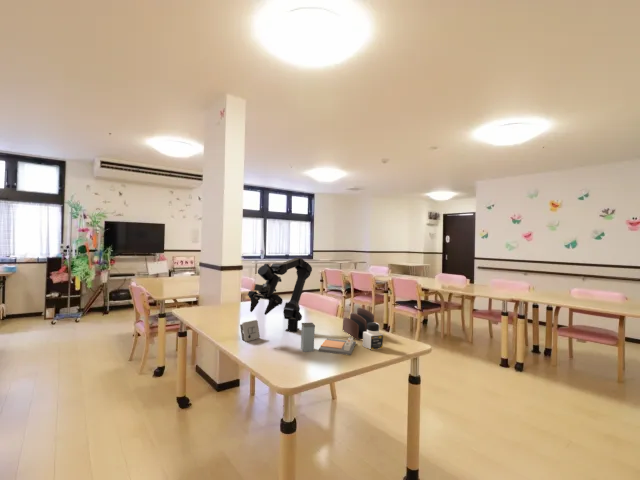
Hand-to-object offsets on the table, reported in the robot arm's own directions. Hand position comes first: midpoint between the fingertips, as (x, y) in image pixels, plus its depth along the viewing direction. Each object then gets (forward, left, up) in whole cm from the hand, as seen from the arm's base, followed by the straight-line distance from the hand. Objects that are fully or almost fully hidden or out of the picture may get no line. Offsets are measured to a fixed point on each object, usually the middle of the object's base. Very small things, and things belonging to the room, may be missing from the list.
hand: (257, 313), depth 161 cm
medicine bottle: (-15, +55, -15) cm, 59 cm away
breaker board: (-9, +39, -15) cm, 42 cm away
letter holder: (-35, +45, -15) cm, 59 cm away
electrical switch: (-5, -6, -15) cm, 17 cm away
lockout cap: (0, +26, -15) cm, 30 cm away
